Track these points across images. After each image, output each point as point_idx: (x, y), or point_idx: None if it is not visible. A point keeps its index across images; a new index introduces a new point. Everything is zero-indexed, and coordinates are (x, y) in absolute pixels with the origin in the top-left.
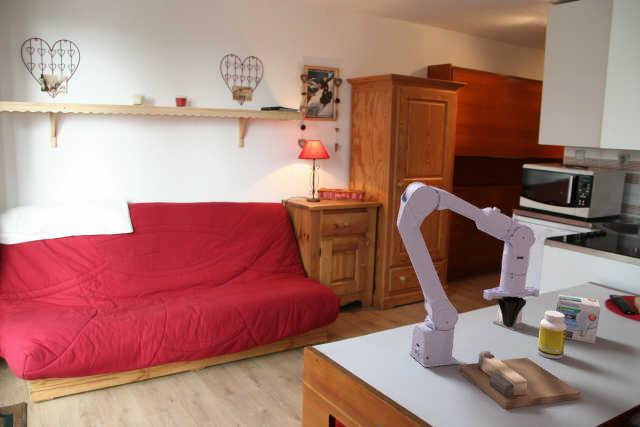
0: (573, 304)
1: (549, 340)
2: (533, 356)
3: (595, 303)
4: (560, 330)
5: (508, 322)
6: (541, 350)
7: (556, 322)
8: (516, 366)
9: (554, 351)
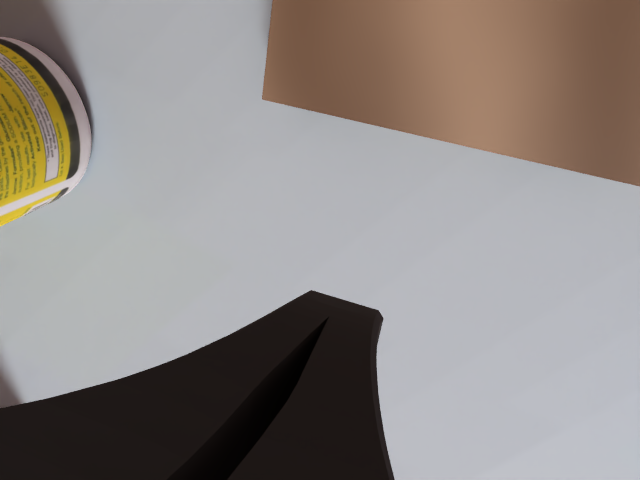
0: None
1: None
2: (149, 147)
3: None
4: None
5: (375, 353)
6: (70, 140)
7: None
8: (493, 5)
9: (6, 59)
